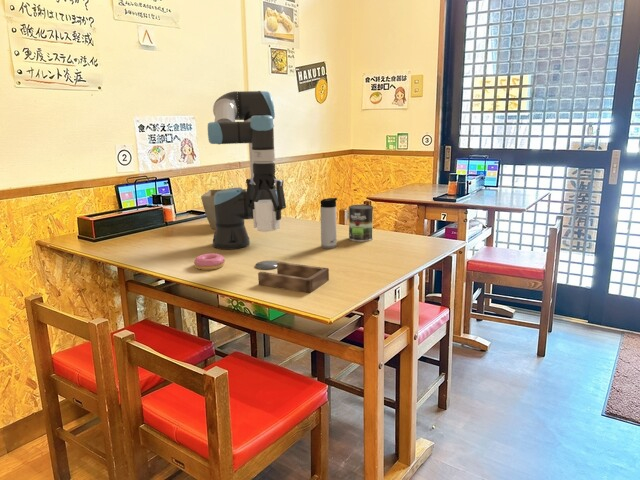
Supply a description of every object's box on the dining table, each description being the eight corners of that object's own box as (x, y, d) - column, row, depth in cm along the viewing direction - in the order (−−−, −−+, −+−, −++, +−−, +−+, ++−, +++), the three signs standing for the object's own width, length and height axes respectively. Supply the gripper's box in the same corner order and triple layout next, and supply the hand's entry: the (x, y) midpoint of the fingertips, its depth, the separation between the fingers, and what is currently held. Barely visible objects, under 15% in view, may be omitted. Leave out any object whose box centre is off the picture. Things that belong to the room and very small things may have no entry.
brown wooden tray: (258, 284, 156) (258, 272, 155) (279, 273, 167) (279, 261, 166) (310, 293, 148) (310, 280, 147) (328, 280, 159) (328, 268, 158)
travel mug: (336, 249, 196) (335, 199, 191) (319, 248, 197) (318, 199, 192) (338, 245, 202) (338, 196, 197) (322, 244, 203) (322, 196, 198)
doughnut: (194, 273, 170) (194, 261, 169) (193, 264, 180) (192, 253, 179) (226, 269, 173) (226, 258, 172) (223, 261, 183) (223, 250, 182)
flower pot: (243, 230, 230) (241, 195, 226) (203, 231, 230) (200, 195, 226) (249, 222, 248) (247, 188, 244) (212, 222, 249) (209, 189, 245)
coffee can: (369, 242, 205) (369, 209, 201) (345, 240, 209) (345, 208, 205) (375, 237, 214) (376, 205, 210) (353, 235, 218) (353, 203, 214)
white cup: (255, 227, 176) (254, 200, 173) (278, 226, 176) (276, 199, 174) (254, 232, 168) (253, 203, 166) (278, 231, 169) (276, 203, 166)
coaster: (250, 267, 174) (250, 266, 174) (264, 261, 182) (264, 259, 181) (272, 270, 170) (272, 269, 170) (285, 263, 178) (285, 262, 177)
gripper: (232, 162, 168) (236, 227, 173) (284, 164, 159) (286, 232, 165) (245, 160, 174) (248, 223, 180) (295, 162, 165) (297, 228, 171)
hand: (266, 227), depth 172 cm, fingers closed on white cup, 7 cm apart
